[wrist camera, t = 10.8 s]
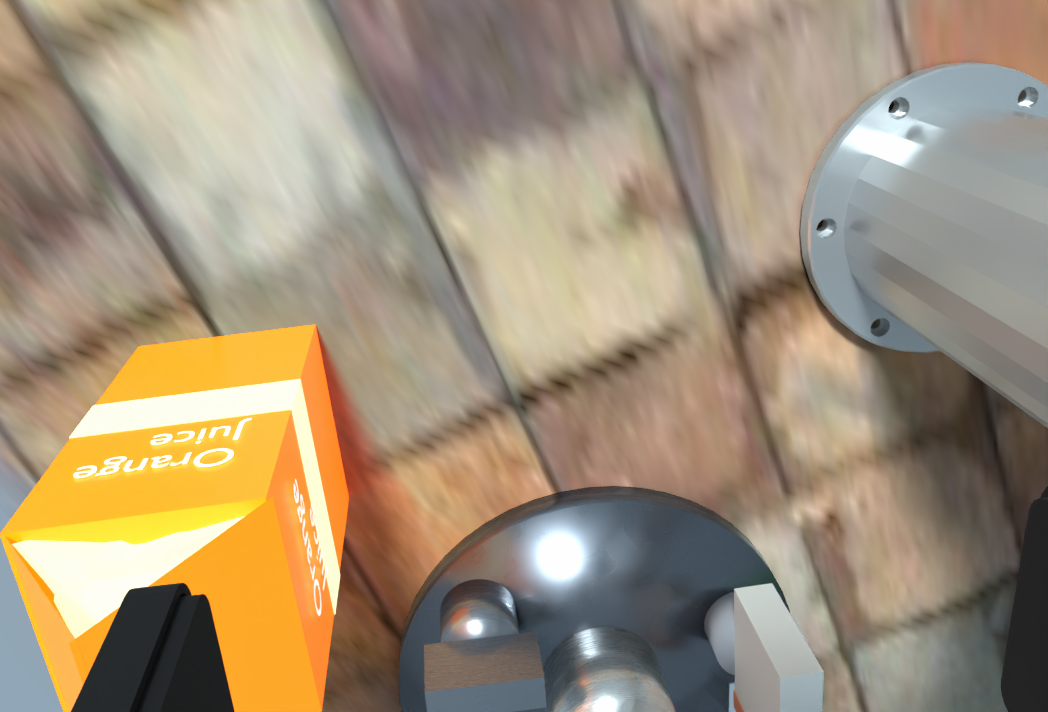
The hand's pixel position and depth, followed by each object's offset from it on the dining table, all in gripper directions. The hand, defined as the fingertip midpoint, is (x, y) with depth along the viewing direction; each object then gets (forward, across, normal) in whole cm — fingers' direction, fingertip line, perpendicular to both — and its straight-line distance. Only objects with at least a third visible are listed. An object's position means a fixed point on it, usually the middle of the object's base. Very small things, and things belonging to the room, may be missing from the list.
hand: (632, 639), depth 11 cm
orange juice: (+31, +11, +11) cm, 34 cm away
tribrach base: (+30, -4, +26) cm, 40 cm away
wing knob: (+29, -11, +23) cm, 39 cm away
